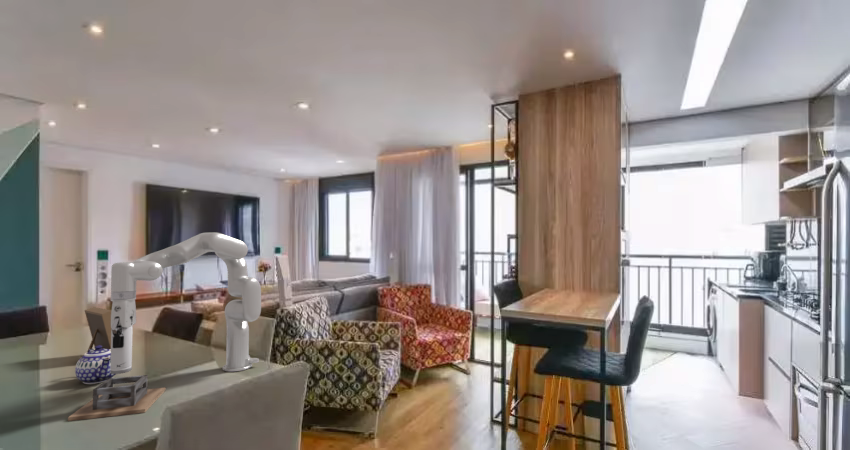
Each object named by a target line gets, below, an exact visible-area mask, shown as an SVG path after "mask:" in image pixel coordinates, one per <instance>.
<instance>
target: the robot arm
mask: <svg viewBox="0 0 850 450" xmlns="http://www.w3.org/2000/svg"><path fill="white" fill-rule="evenodd" d="M248 249H249V247H248V246H247V244H246V243H245V242H244V241H242V240H240V239H237V238H234V237H233V236H232V237H231V236H229V235H226V234H223V233H221V232H217V231H216V232H202V233H198V234H197V235H194V236H192V237H190V238H188V239H186V240H183V241H181V242H179V243H177V244H174V245H171V246H168V247H166V248H164V249H161V250H158V251H157V250H156V251H154V252H151V253H149V254H146V255H143V256H141V257H140V258H138V259H135V260H133V261H131V262H128V261H126V262H125V261H122V262H114V263H112V266H111V271H110V272H111V274H110V276H111V277H110V302H112V304H111V330H112V333H113V348H122V347H124V336H123V331H124V328H128V327H130V326H131V323H132V324H133V325H136V323H137V307H136V306H137V305H136V300H137V282H138V281H145V282H146V281H147V282H151V281H154V280H157V279H159V278H160V277H161V276H162V274H163V270H164V269H165V268H169V267H175V266H179V265H183V264H187V263H189V262H191V261H192V260H194V259H197V258H198V257H200V256H203V255H205V254H207V253H211V252H212V253H214V254H215V255H216V256H217V257H218V258H219V259H221V260H222V261H223V262H224V264H225V266H226V270H227V292H228V294H229V295H230V296H231V297H235V298H242V299H233V300H230V301H229V302H228V303H226V305H225V308H224V317H225V318H224V319H225V322H226V323H225V324H226V350H225V351H226V354H225V356H226V361H225V364H224V365H222V371H224V372H241V371H245V370H248V369H250V368H252V366H253V364H255V363H259V362H260V361H259V358H257V357H253V358H252V357H251V355H249V349H250V348H249V347H250V346H249V345H250V343H249V342H250V327H249V323H252V322H255V321H257V320H258V319H259V318H260V316H261V312H262V287H261V284H260V282H259V280H258V279H257V278H255V277H252V276H251V277H250V276H248V265H247V261H246V259H245V257H246V256H247V255H248V251H249V250H248ZM130 316H133V318H132V322H131V318H130ZM118 326H122V327H120V328H118ZM119 330H121V331H119Z"/></svg>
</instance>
